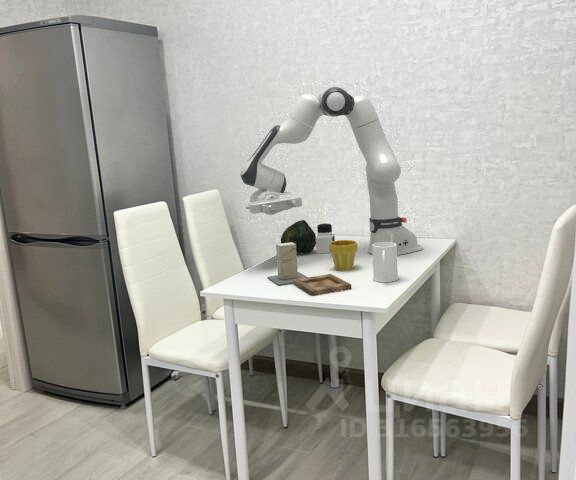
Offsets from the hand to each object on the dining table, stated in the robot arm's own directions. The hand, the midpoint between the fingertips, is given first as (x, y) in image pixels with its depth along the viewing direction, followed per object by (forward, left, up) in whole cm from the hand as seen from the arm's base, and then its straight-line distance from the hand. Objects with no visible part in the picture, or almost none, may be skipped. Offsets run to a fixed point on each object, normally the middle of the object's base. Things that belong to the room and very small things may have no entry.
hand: (281, 206), depth 210 cm
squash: (-15, -26, -25) cm, 39 cm away
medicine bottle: (-25, -21, -25) cm, 41 cm away
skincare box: (+4, +12, -24) cm, 27 cm away
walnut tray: (-2, +27, -24) cm, 36 cm away
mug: (-23, +32, -25) cm, 47 cm away
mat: (+4, +12, -24) cm, 27 cm away
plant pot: (-19, +9, -25) cm, 33 cm away
